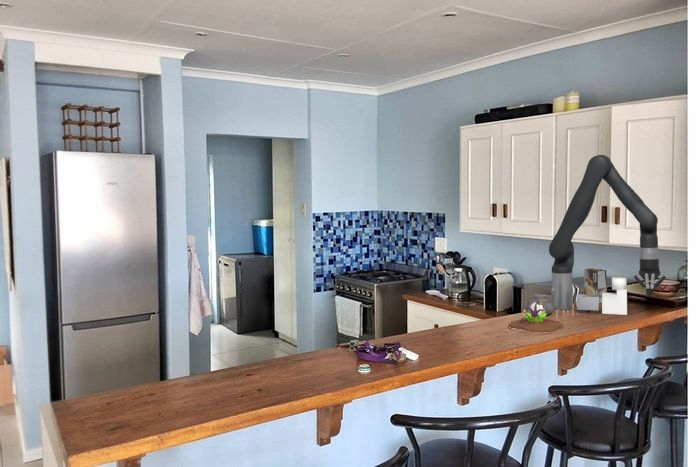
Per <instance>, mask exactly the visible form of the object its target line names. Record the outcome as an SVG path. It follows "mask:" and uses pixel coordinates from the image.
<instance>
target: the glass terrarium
mask: <svg viewBox="0 0 700 467" xmlns="http://www.w3.org/2000/svg"><path fill="white" fill-rule="evenodd" d="M537 301H539V302H541V305H538V303H537V311H538V310H540V309H543V310H544V311H545V314H547V315H546V316H548V315H551V314H553V313H554V310H555V309H554V307H553V305H552V302H551V301H549V300H548V299H547V295H546V294H534V300H532V301H530V302H529V304H528V306H527V307H529V308H531V309H532V310H533V311H534V307H535V304H536V302H537ZM527 311H528V312H527V313H529V314H531V311H530V309H527ZM539 314H540V316H541V315H543V314H542V311H540V312H539Z"/></svg>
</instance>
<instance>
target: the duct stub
mask: <svg viewBox="0 0 700 467" xmlns="http://www.w3.org/2000/svg"><path fill="white" fill-rule="evenodd" d="M576 310H578V314H579V313H581V314H586V313H587V311H590V314H598V311H599V310H600V303H599V295H586V294H584V293H583V294H579V293H578V294H577V295H576Z"/></svg>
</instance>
